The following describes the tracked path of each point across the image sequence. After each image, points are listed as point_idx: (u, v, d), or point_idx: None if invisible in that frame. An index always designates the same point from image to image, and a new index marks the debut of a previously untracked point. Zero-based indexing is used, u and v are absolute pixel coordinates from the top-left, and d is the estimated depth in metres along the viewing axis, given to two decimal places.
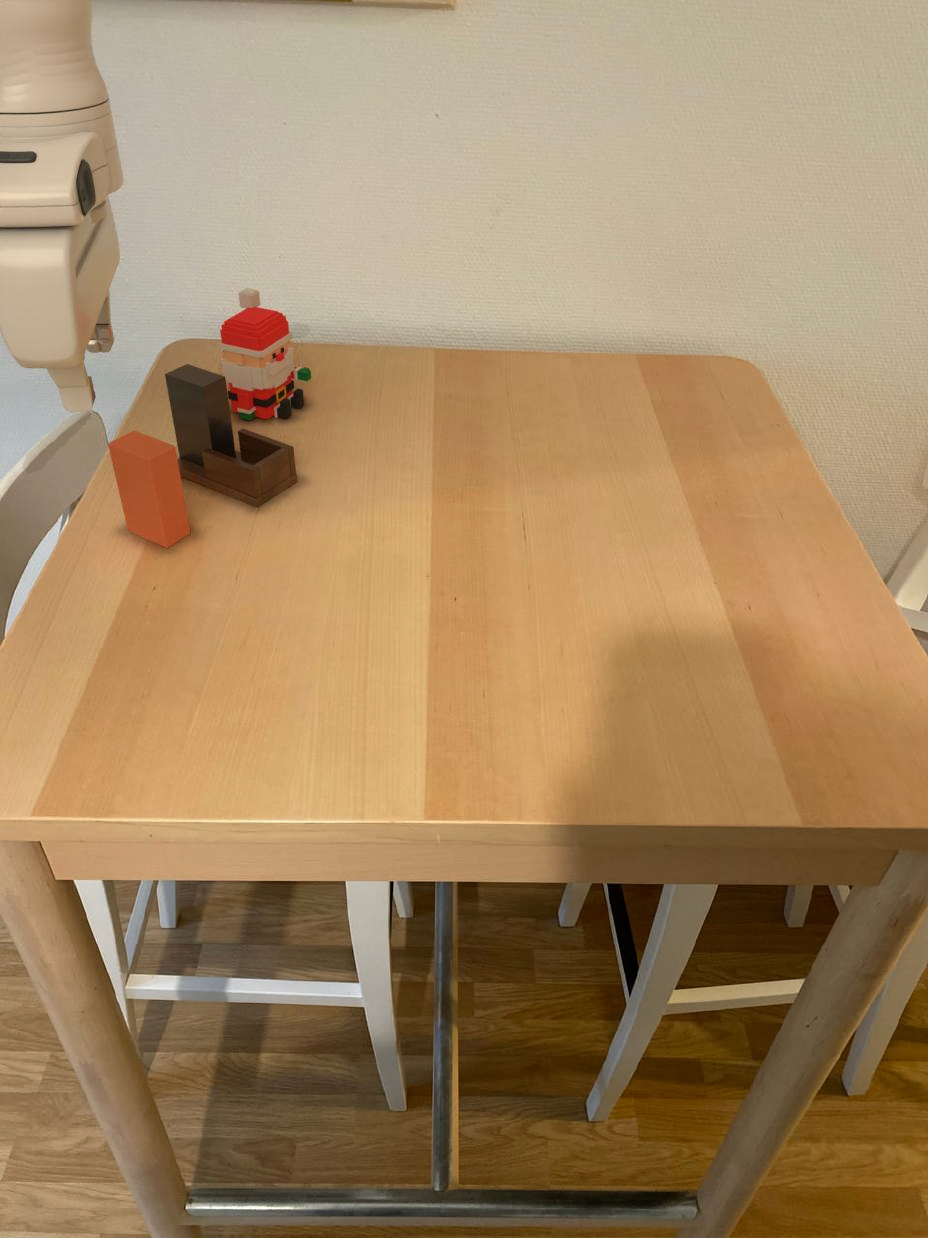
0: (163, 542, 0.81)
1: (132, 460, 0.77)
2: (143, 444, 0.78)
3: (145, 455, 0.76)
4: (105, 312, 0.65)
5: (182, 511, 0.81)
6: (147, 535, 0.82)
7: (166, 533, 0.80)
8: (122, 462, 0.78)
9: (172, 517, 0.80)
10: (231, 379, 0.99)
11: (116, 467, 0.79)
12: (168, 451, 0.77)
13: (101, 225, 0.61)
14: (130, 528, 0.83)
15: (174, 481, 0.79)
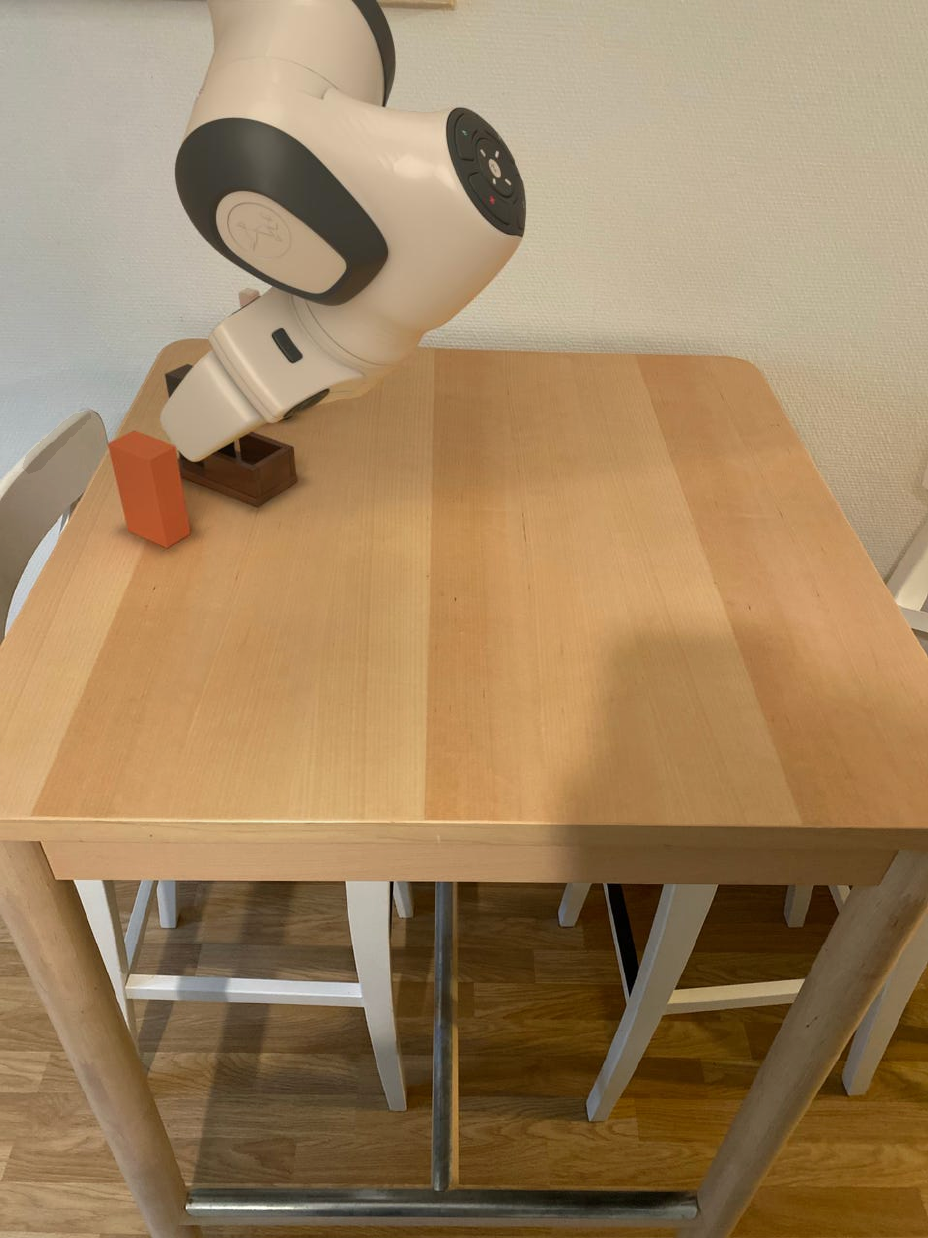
0: (163, 542, 0.81)
1: (132, 460, 0.77)
2: (143, 444, 0.78)
3: (145, 455, 0.76)
4: None
5: (182, 511, 0.81)
6: (147, 535, 0.82)
7: (166, 533, 0.80)
8: (122, 462, 0.78)
9: (172, 517, 0.80)
10: None
11: (116, 467, 0.79)
12: (168, 451, 0.77)
13: None
14: (130, 528, 0.83)
15: (174, 481, 0.79)
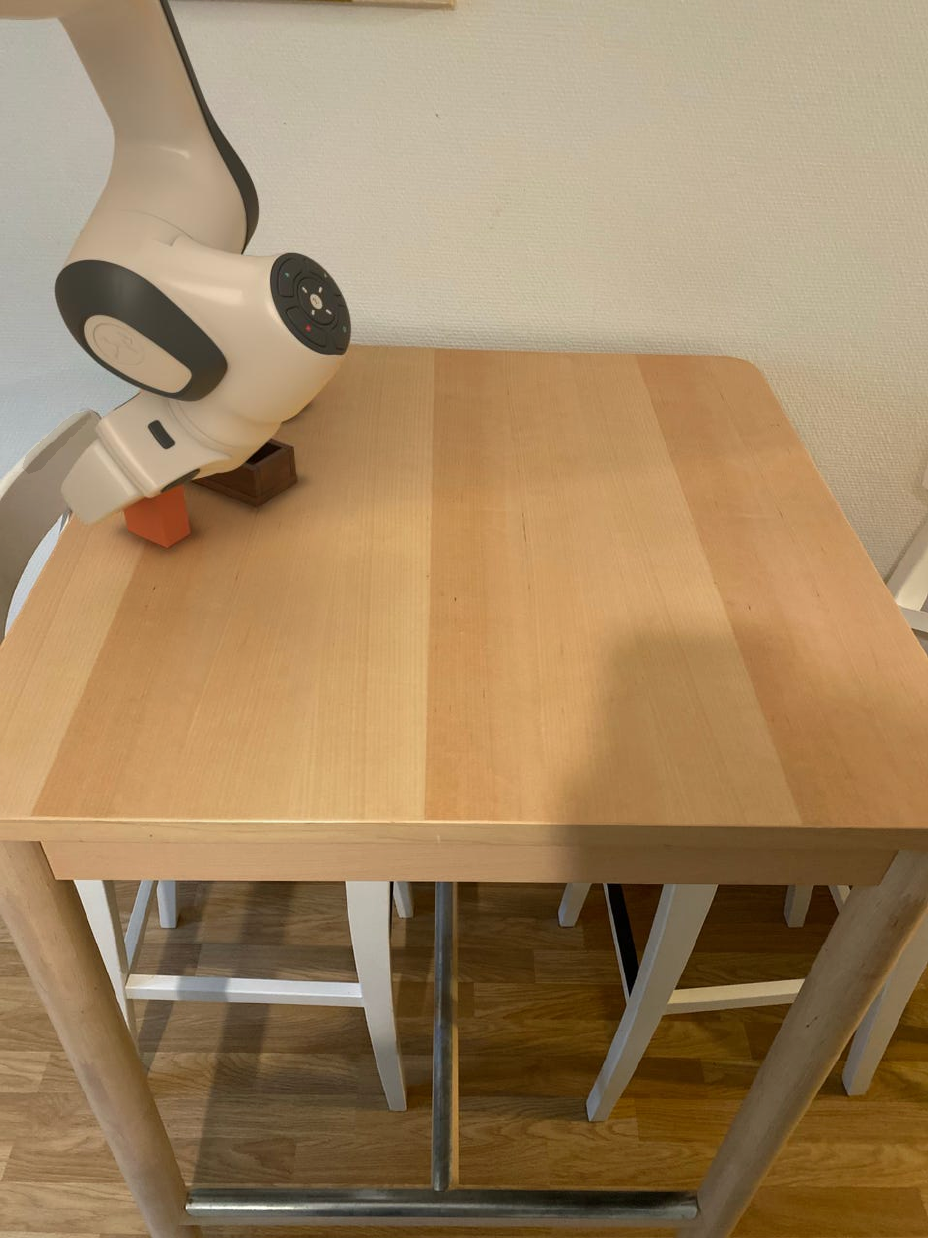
0: (163, 542, 0.81)
1: None
2: None
3: None
4: None
5: (182, 511, 0.81)
6: (147, 535, 0.82)
7: (166, 533, 0.80)
8: None
9: (172, 517, 0.80)
10: None
11: None
12: None
13: None
14: (130, 528, 0.83)
15: None
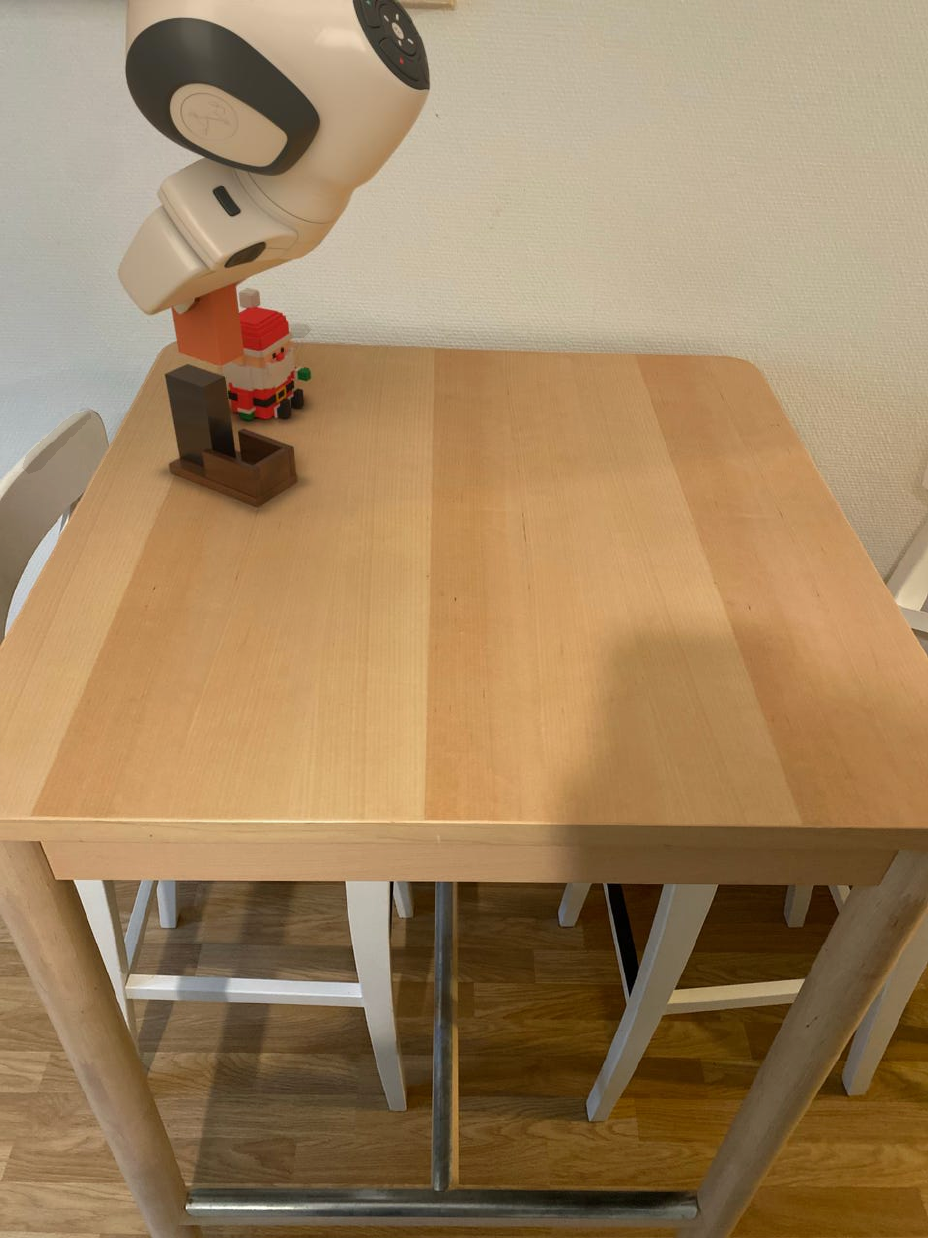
0: (217, 359, 0.78)
1: None
2: None
3: None
4: None
5: (236, 327, 0.78)
6: (200, 354, 0.78)
7: (220, 348, 0.77)
8: None
9: (227, 332, 0.77)
10: (231, 379, 0.99)
11: None
12: None
13: None
14: (181, 348, 0.79)
15: (229, 291, 0.76)
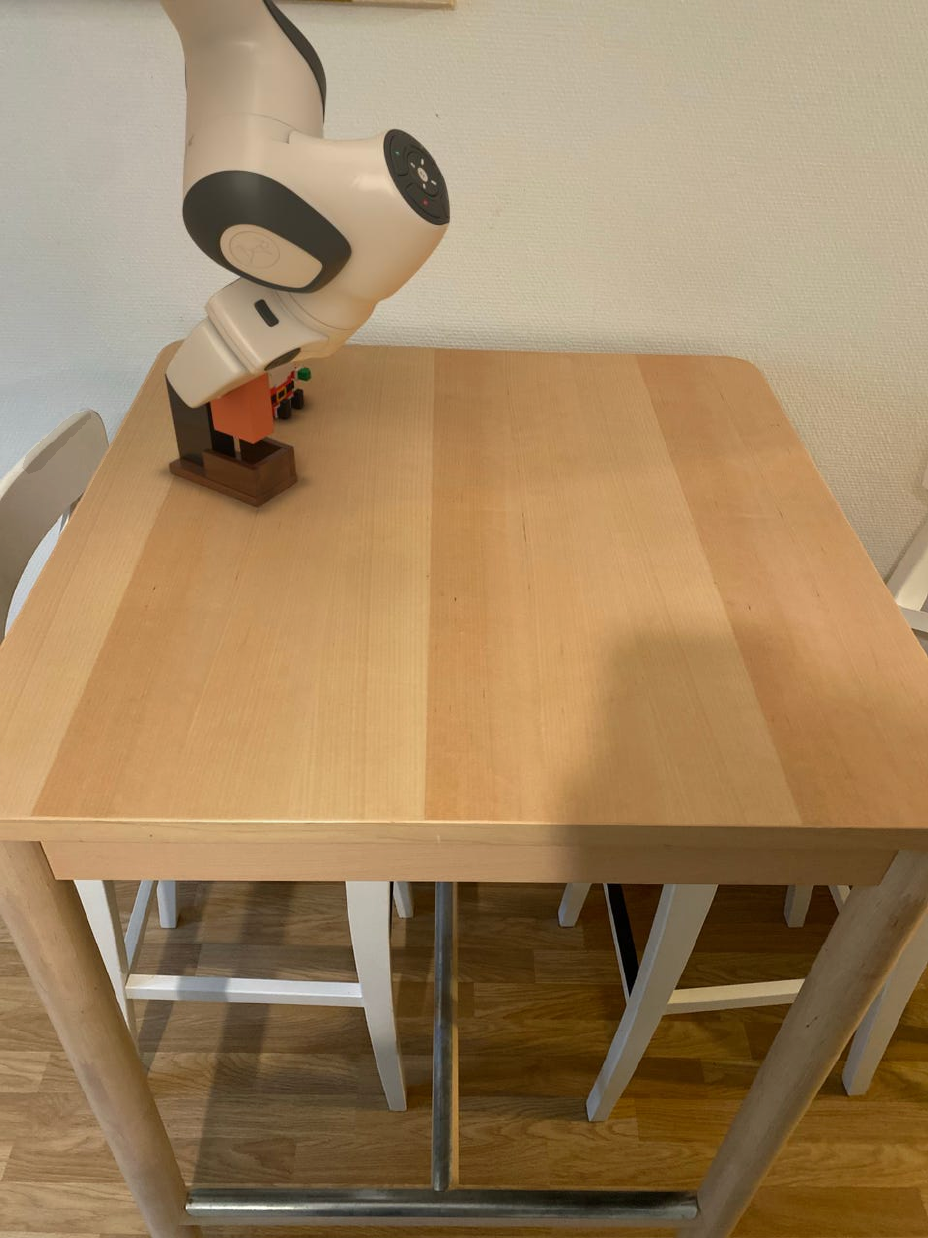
0: (250, 437, 0.85)
1: None
2: None
3: None
4: None
5: (267, 408, 0.85)
6: (234, 432, 0.85)
7: (253, 428, 0.84)
8: None
9: (259, 413, 0.84)
10: None
11: None
12: None
13: None
14: (217, 426, 0.86)
15: (262, 377, 0.83)
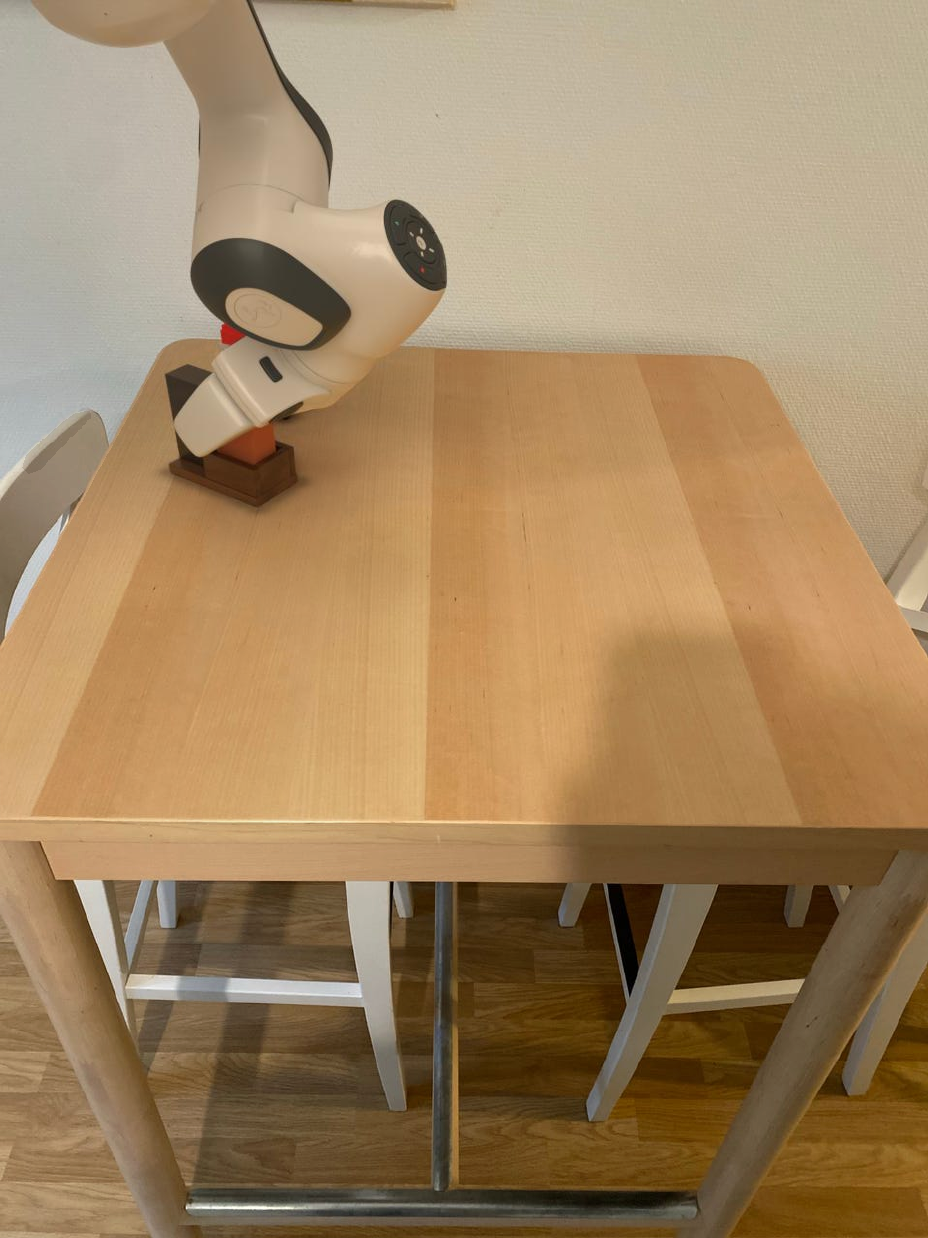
0: None
1: None
2: None
3: None
4: None
5: (272, 453, 0.88)
6: None
7: None
8: None
9: None
10: None
11: None
12: None
13: None
14: None
15: (267, 424, 0.86)
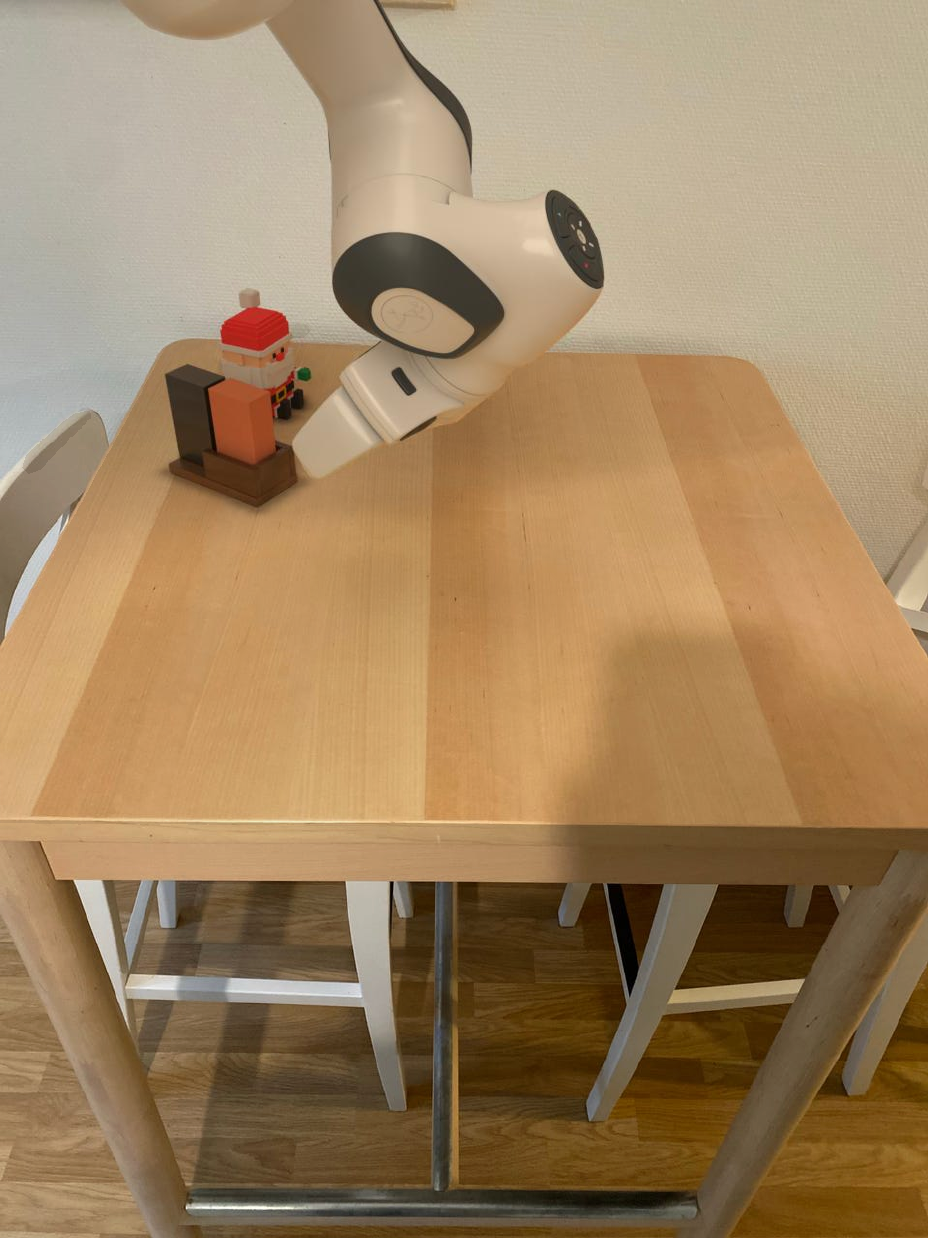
0: None
1: (231, 403, 0.84)
2: (240, 389, 0.84)
3: (244, 399, 0.83)
4: None
5: (272, 453, 0.88)
6: None
7: None
8: (220, 406, 0.85)
9: None
10: None
11: (214, 411, 0.85)
12: (264, 395, 0.84)
13: None
14: None
15: (267, 424, 0.86)
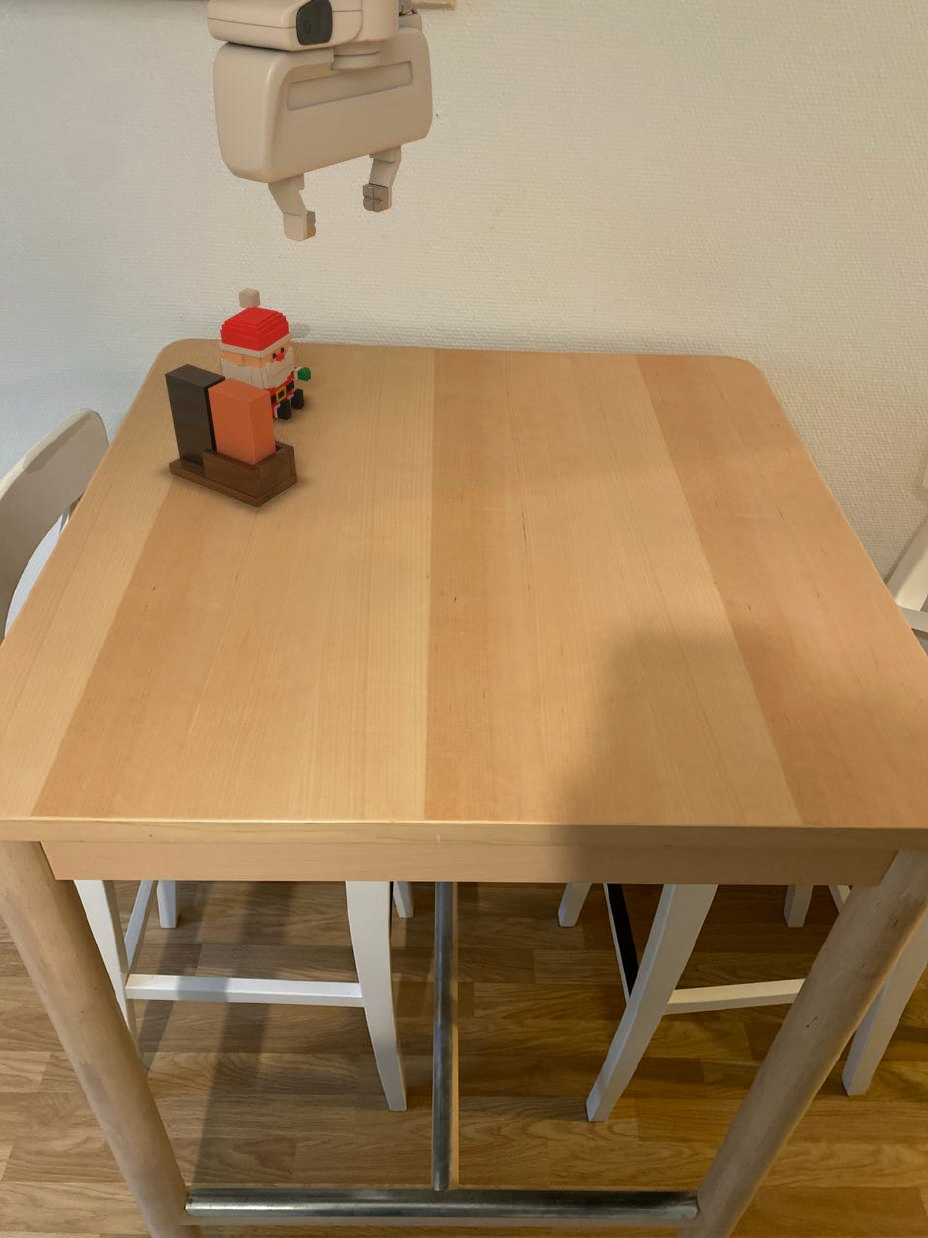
0: None
1: (231, 403, 0.84)
2: (240, 389, 0.84)
3: (244, 399, 0.83)
4: (388, 176, 0.70)
5: (272, 453, 0.88)
6: None
7: None
8: (220, 406, 0.85)
9: None
10: None
11: (214, 411, 0.85)
12: (264, 395, 0.84)
13: (394, 89, 0.66)
14: None
15: (267, 424, 0.86)
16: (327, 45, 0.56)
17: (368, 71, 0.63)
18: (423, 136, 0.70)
